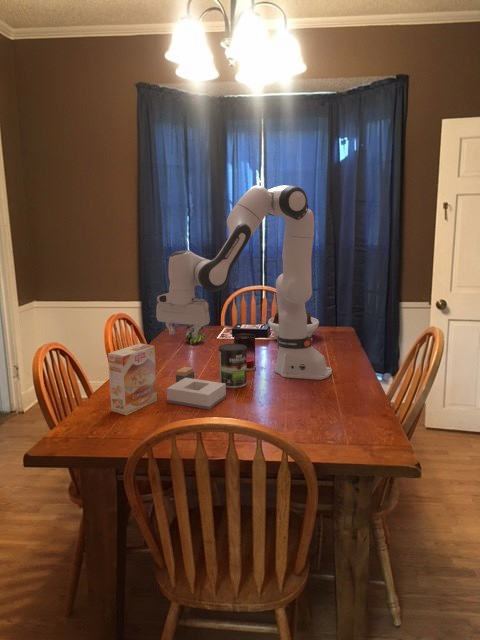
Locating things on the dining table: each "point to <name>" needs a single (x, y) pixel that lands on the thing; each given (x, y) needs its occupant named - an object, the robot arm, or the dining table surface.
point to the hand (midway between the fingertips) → (183, 335)
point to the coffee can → (233, 365)
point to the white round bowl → (311, 324)
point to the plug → (184, 373)
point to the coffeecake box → (132, 378)
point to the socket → (196, 393)
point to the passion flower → (195, 339)
